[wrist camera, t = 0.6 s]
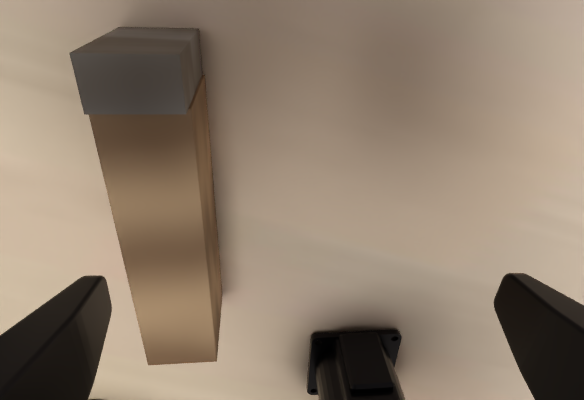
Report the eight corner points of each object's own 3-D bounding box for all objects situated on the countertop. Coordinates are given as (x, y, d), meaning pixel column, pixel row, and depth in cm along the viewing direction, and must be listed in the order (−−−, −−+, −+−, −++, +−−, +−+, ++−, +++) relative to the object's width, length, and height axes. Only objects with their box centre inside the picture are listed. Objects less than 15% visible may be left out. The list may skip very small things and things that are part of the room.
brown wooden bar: (222, 295, 26) (215, 370, 21) (165, 297, 26) (145, 375, 21) (200, 28, 18) (182, 54, 13) (116, 26, 17) (66, 53, 13)
